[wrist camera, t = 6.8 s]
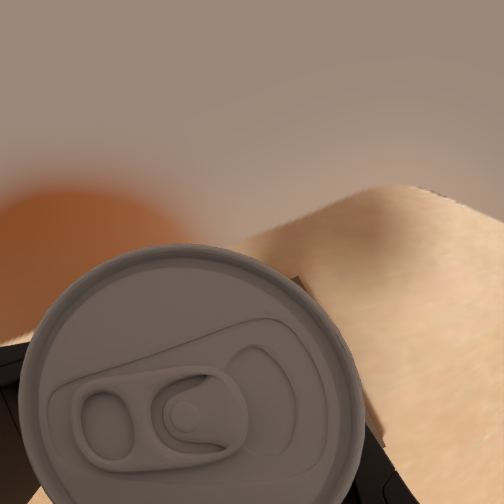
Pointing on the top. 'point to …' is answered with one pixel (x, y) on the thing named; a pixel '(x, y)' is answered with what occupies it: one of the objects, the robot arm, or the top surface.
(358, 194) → the top surface
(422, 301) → the top surface
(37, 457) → the beverage can
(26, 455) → the robot arm
